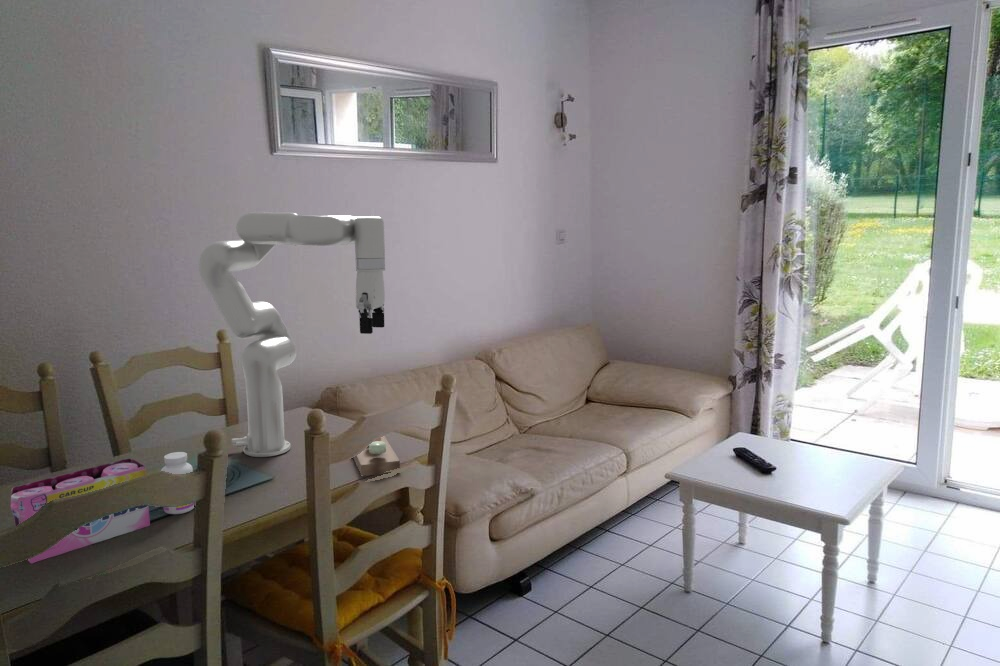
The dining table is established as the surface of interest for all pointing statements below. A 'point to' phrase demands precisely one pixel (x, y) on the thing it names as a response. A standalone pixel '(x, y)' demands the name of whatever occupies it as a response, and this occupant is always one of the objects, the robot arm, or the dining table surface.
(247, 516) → the dining table surface
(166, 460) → the supplement bottle
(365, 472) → the button panel
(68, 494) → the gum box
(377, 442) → the sage green button
